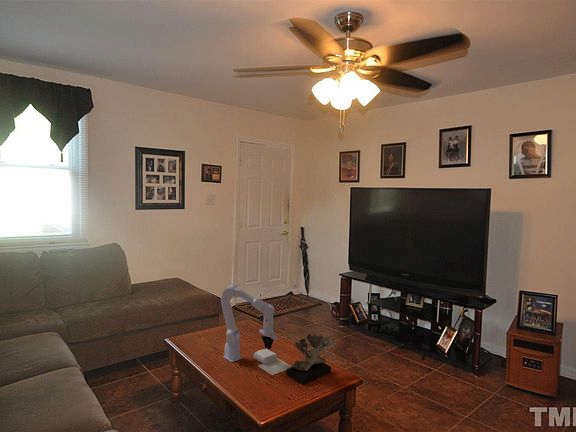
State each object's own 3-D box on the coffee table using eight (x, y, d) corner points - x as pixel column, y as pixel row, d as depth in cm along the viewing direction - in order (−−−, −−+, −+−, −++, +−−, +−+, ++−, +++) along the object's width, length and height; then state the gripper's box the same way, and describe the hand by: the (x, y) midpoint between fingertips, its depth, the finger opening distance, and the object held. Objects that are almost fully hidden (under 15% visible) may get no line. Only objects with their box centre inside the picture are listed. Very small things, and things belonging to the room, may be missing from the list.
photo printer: (277, 360, 224) (265, 353, 233) (277, 353, 223) (265, 347, 233) (264, 365, 217) (251, 358, 226) (263, 358, 217) (251, 351, 226)
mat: (257, 366, 217) (257, 365, 217) (277, 358, 226) (277, 358, 226) (272, 375, 206) (272, 375, 206) (293, 367, 216) (293, 367, 216)
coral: (318, 362, 223) (319, 327, 222) (343, 375, 208) (344, 337, 206) (285, 374, 207) (286, 336, 206) (310, 390, 192) (311, 349, 190)
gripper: (281, 327, 217) (281, 350, 218) (266, 320, 228) (265, 342, 229) (271, 330, 213) (271, 353, 214) (256, 323, 224) (256, 345, 225)
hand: (267, 348), depth 221 cm, fingers closed
